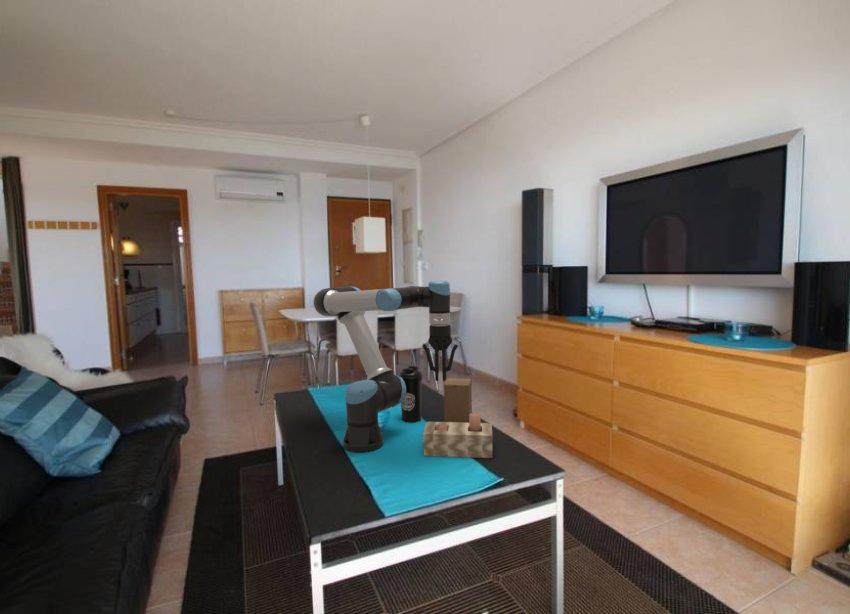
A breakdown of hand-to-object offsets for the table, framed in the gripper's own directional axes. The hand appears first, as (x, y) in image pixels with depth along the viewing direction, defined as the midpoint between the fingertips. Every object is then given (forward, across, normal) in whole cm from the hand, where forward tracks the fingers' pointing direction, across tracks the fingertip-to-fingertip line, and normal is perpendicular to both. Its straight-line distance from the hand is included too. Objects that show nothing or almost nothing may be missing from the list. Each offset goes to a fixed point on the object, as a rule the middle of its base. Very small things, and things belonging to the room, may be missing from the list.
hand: (440, 389), depth 157 cm
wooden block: (+23, +5, +20) cm, 31 cm away
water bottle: (+23, -16, +30) cm, 41 cm away
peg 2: (+17, +12, 0) cm, 21 cm away
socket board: (+22, +6, 0) cm, 23 cm away
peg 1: (+22, 0, 0) cm, 22 cm away
